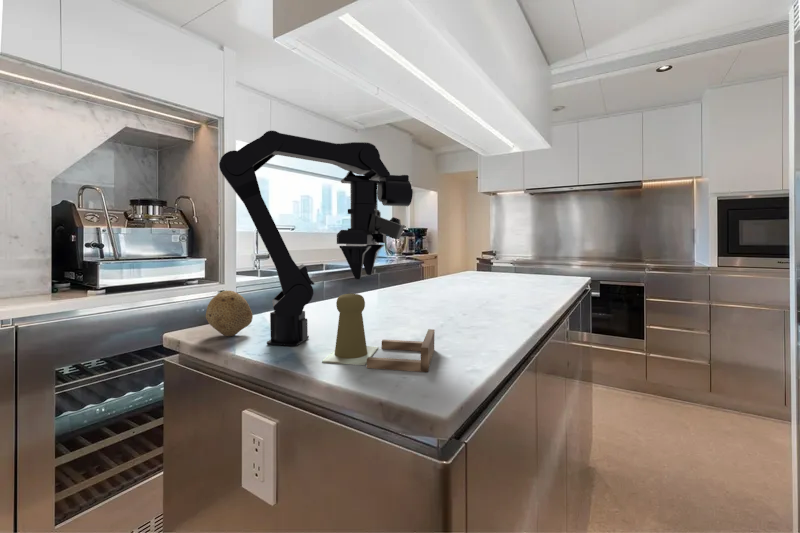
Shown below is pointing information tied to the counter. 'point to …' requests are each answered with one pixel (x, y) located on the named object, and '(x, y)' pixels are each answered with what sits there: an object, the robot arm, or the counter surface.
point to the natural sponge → (228, 313)
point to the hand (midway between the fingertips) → (363, 276)
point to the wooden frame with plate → (390, 363)
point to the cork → (350, 327)
